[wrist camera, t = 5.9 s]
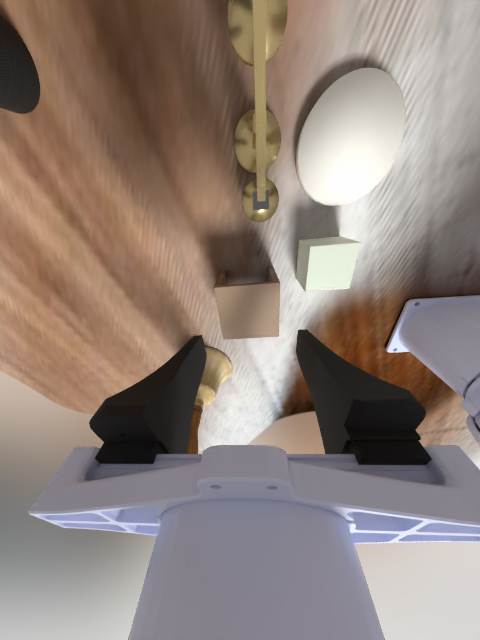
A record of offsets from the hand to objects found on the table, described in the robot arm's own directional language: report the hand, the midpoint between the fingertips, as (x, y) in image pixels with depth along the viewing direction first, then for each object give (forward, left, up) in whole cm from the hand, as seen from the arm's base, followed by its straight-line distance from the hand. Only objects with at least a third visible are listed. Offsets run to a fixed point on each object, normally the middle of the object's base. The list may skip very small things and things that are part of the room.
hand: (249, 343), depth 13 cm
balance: (-1, -13, -9) cm, 16 cm away
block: (-7, -4, -10) cm, 13 cm away
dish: (-8, -12, -9) cm, 17 cm away
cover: (0, 0, -9) cm, 9 cm away
